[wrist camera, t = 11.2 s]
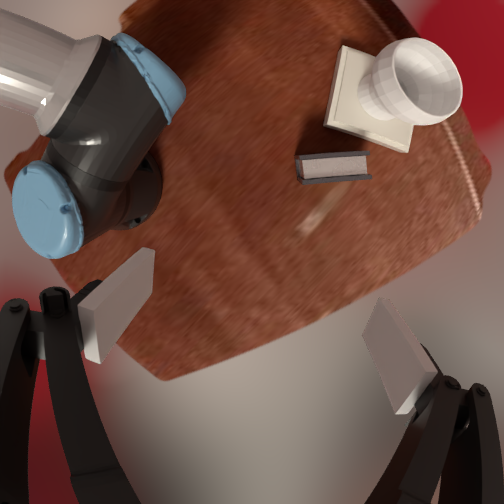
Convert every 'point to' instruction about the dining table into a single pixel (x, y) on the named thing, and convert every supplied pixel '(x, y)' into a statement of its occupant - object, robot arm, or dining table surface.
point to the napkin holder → (331, 167)
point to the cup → (411, 84)
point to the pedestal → (350, 110)
